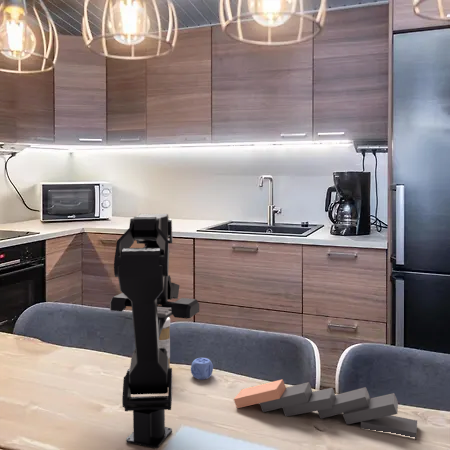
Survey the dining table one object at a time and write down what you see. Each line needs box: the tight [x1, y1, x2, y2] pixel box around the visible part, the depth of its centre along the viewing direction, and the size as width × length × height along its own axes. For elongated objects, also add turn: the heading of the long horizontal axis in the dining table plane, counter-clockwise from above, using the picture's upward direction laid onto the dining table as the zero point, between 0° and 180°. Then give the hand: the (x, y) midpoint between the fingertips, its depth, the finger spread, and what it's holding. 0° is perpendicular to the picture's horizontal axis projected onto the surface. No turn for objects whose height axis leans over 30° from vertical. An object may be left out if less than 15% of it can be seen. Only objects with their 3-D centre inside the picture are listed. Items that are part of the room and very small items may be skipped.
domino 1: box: [233, 379, 287, 409], centre depth 101 cm, size 2×5×10 cm
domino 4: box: [317, 386, 370, 420], centre depth 97 cm, size 2×5×10 cm
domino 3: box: [282, 387, 336, 417], centre depth 98 cm, size 2×5×10 cm
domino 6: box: [360, 415, 418, 439], centre depth 93 cm, size 2×5×10 cm
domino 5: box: [342, 392, 399, 425], centre depth 94 cm, size 2×5×10 cm
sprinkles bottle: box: [159, 316, 171, 368], centre depth 120 cm, size 5×5×13 cm
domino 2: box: [259, 381, 313, 413], centre depth 99 cm, size 2×5×10 cm
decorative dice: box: [190, 357, 214, 381], centre depth 117 cm, size 4×4×4 cm
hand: (154, 343), depth 103 cm, fingers closed
